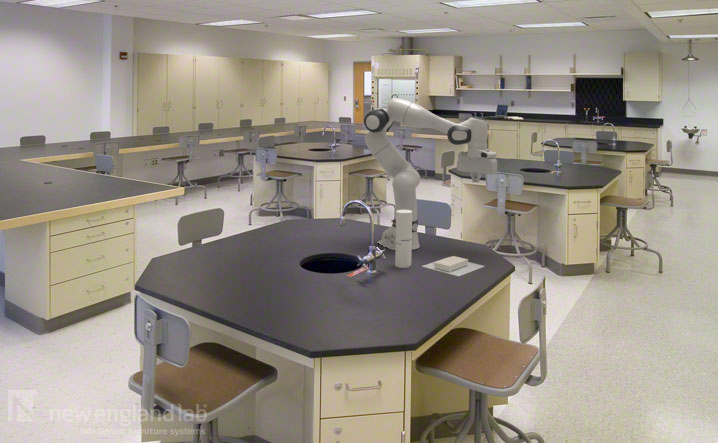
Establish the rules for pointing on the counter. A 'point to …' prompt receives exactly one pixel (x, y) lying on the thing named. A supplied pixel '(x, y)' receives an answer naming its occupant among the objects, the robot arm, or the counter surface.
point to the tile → (451, 263)
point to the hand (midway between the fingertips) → (475, 182)
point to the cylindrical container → (403, 238)
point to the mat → (459, 271)
